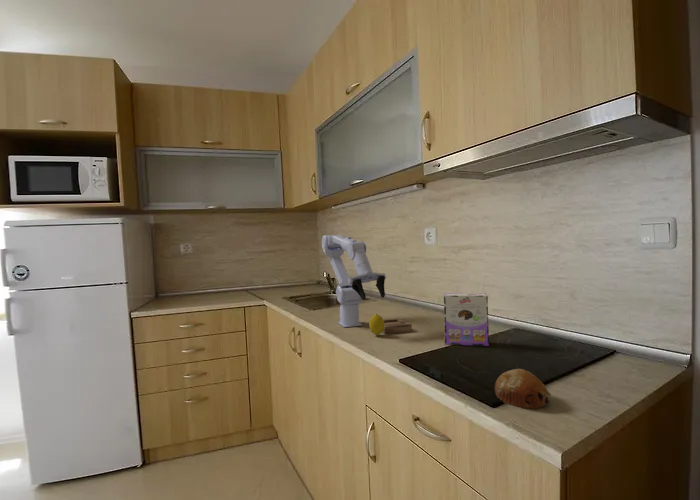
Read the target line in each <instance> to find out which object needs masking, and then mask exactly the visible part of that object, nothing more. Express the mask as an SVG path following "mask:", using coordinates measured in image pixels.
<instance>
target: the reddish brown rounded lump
mask: <svg viewBox="0 0 700 500" xmlns="http://www.w3.org/2000/svg"><path fill="white" fill-rule="evenodd" d="M494 393H495V396H496V398H497V399H498V398H499V399H500V400H499V401H501V400H502V401H503V402H502V401H501V402H502V403H504V404H506V405H510V406H513V407H517V408H519V409H520V408H521V409H527V410H537V409H538V410H539V409H541V408H543V407H545V406H546V405H549V404H550V400H549V399H548V396H552V394H551V393H550V391H549V390H548V388H547V387H546V385H545V383H543V382H542V381H541V380H540V379H539V378H538V377H537V376H536V375H534V374H533V373H532V372H530V371H528V370H525V369H524V368H516V369H515V368H514V369H511V370H507V371H504V372H503V373H501V374H500V375H499V376H498V377H497V379H496V381H495V384H494Z"/></svg>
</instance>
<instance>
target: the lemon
mask: <svg viewBox="0 0 700 500" xmlns="http://www.w3.org/2000/svg"><path fill="white" fill-rule="evenodd" d="M384 320H385V319H384V318H383V317H382V316H381V315H379V314H378V313H375V314H374V315H372V316H371V317H370V319H369V323H368V324H369V325H368V328H369V331H370V332H371V333H373V335H375V336H376V337H377V336H379V335H381V334H383V333H382V332H383V330H384Z"/></svg>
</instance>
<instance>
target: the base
mask: <svg viewBox="0 0 700 500" xmlns="http://www.w3.org/2000/svg"><path fill="white" fill-rule="evenodd" d="M383 320H384V330H383V332H382V333H381V334H384V335H392V334H401V333H411V332H412V331H413V330H412V328H413V327H412V323H410V322H407V321H405V320H402V319H400V318H392V319H383Z"/></svg>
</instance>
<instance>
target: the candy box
mask: <svg viewBox="0 0 700 500" xmlns="http://www.w3.org/2000/svg"><path fill="white" fill-rule="evenodd" d="M488 299H489V297H488V295H487V294H486V293H482V292H481V293H478V292H477V293H476V292H475V293H473V292H472V293H471V292H470V293H467V292H466V293H465V292H463V293H461V292H460V293H459V292H457V293H453V292H451V293H450V292H449V293H447V292H445V293H443V313H444V315H443V317H444V318H443V319H444V320H443V321H444V345H447V346H449V345H450V346H451V345H453V346H455V345H456V346H475V347H476V346H478V347H490V338H489V337H490V334H489V333H490V332H489V331H490V330H489V329H490V328H489V301H488Z"/></svg>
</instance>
